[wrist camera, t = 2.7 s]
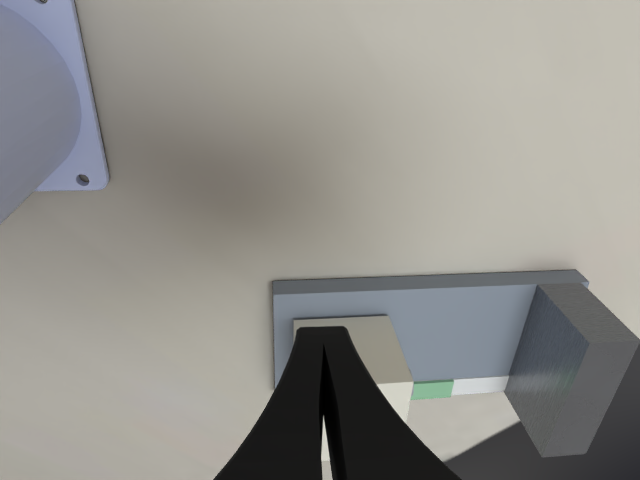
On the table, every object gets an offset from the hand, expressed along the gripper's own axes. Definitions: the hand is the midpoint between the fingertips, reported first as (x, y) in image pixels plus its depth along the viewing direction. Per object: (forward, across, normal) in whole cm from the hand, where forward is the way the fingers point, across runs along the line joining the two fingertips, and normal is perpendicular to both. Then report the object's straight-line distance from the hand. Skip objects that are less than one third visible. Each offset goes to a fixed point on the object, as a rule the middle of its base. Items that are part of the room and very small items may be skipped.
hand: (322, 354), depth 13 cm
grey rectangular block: (+11, -13, +9) cm, 19 cm away
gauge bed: (+11, -6, +9) cm, 15 cm away
